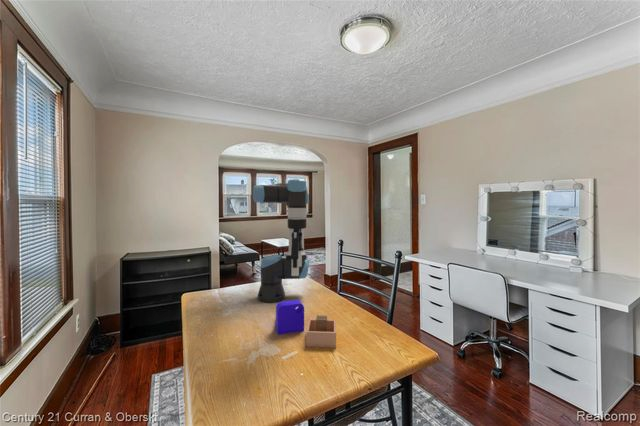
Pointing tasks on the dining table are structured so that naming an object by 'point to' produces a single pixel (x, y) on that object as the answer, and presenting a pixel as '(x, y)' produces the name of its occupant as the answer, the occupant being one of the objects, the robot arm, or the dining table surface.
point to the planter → (321, 335)
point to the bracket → (289, 317)
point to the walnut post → (321, 323)
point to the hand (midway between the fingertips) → (296, 270)
